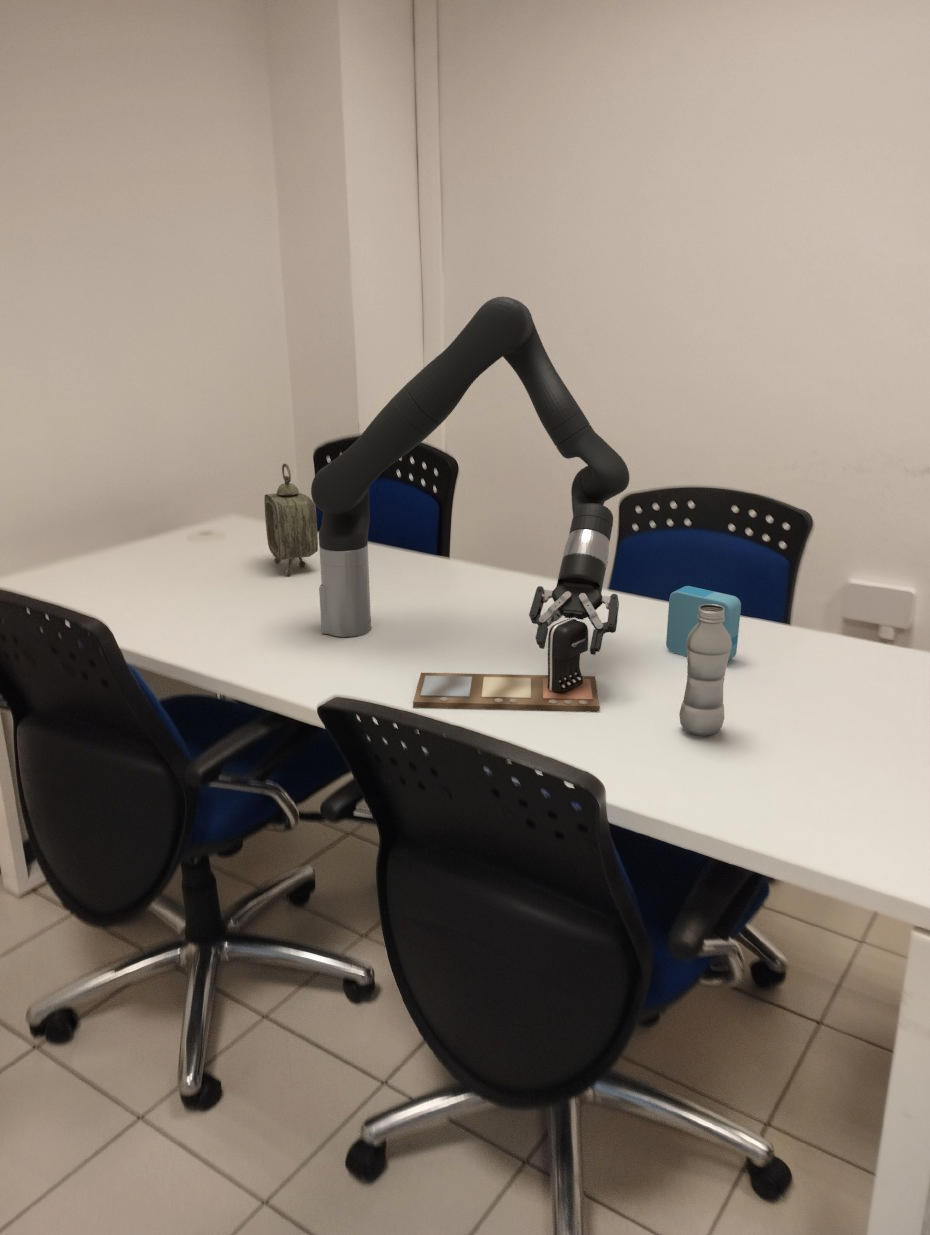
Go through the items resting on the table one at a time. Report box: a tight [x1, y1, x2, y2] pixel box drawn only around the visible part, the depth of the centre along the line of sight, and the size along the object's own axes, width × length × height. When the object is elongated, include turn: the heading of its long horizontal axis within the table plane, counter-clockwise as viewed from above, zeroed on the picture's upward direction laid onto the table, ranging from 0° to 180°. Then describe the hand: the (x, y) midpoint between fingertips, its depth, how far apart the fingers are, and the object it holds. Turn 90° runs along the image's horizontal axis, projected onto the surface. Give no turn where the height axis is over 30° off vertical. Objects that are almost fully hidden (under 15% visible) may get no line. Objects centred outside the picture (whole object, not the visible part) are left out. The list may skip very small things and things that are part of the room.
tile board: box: [412, 672, 601, 713], centre depth 160 cm, size 30×12×1 cm, turn 86°
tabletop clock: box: [264, 463, 319, 577], centre depth 224 cm, size 14×9×25 cm, turn 23°
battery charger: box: [547, 618, 589, 693], centre depth 158 cm, size 7×4×11 cm, turn 136°
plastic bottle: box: [679, 604, 732, 736], centre depth 144 cm, size 6×7×20 cm
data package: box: [665, 585, 742, 661], centre depth 174 cm, size 12×4×12 cm, turn 49°
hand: (566, 649), depth 156 cm, fingers open, 8 cm apart
